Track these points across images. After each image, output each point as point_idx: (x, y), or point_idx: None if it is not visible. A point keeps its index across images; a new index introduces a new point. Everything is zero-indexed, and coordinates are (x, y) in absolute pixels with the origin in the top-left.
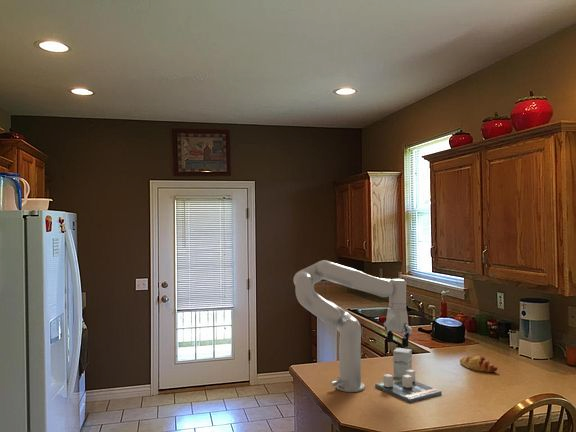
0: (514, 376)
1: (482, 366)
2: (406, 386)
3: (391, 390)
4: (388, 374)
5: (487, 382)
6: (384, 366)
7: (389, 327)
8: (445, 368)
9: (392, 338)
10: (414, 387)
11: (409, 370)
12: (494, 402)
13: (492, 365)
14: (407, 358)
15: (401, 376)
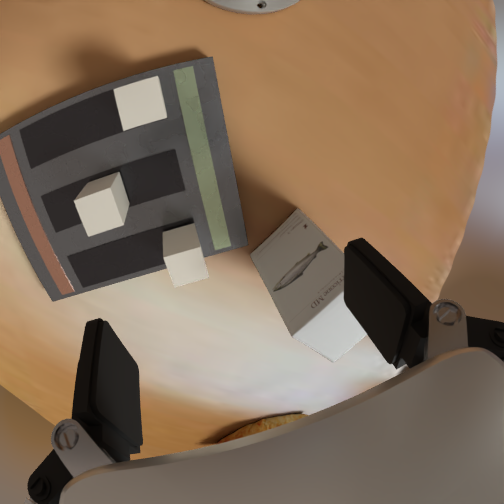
0: None
1: None
2: (90, 182)
3: (88, 95)
4: (156, 112)
5: (155, 421)
6: (404, 234)
7: (431, 435)
8: (292, 383)
9: (361, 318)
10: None
11: (190, 265)
12: (14, 375)
13: None
14: (282, 311)
15: (274, 236)
